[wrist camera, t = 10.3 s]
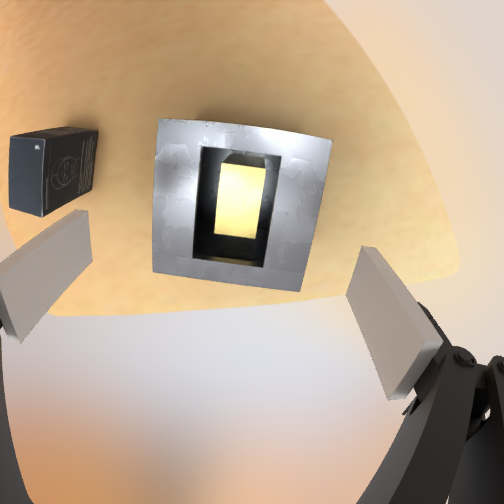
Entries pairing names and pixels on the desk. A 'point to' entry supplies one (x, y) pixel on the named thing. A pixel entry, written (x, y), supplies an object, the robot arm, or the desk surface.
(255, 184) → the yellow rectangular block
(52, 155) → the box
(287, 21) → the desk surface
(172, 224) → the gray slotted cube
